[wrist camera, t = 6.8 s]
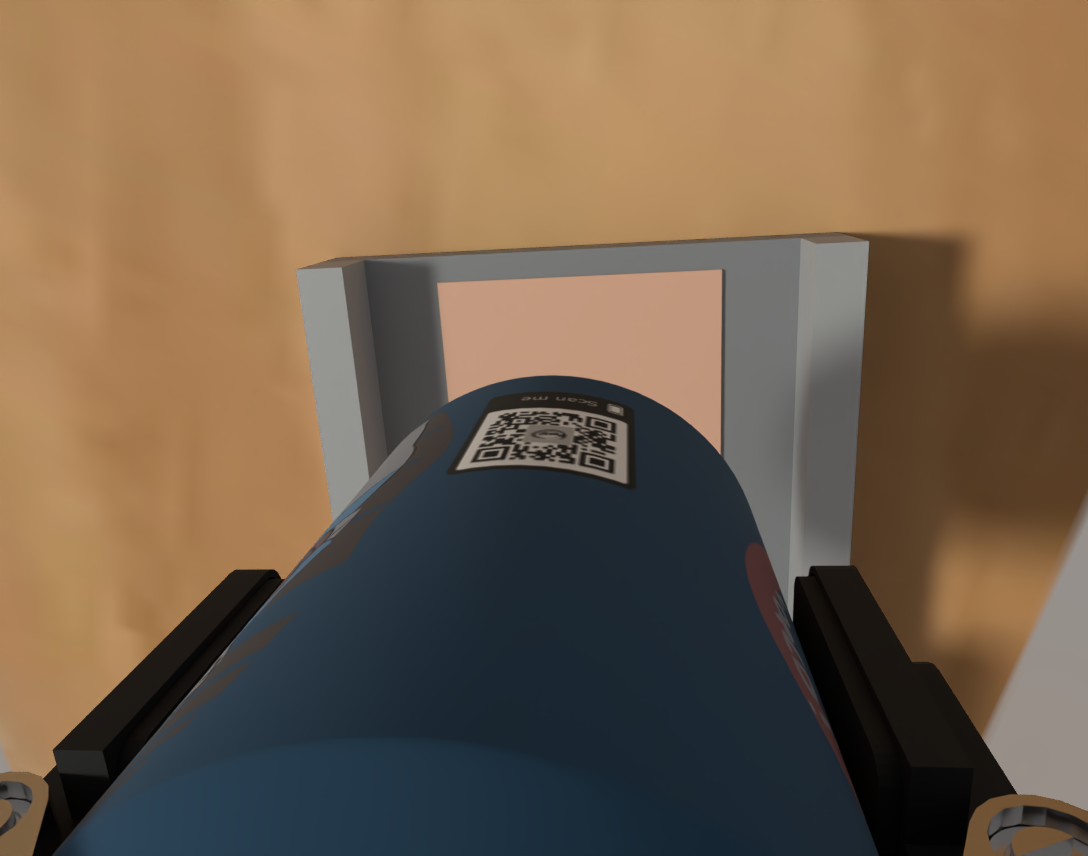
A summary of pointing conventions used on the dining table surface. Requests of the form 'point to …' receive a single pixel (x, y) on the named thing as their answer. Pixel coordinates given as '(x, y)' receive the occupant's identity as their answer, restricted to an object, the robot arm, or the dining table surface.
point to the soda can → (509, 664)
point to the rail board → (616, 357)
